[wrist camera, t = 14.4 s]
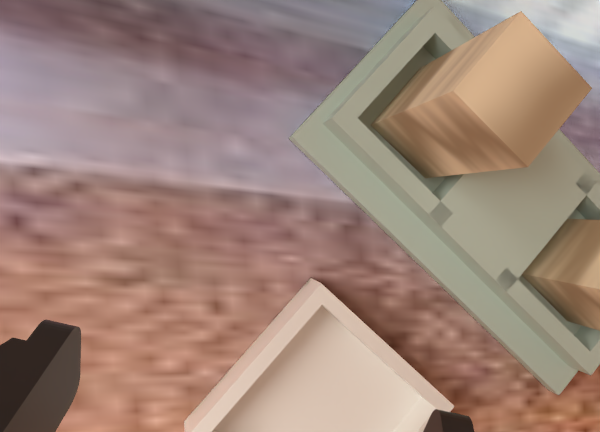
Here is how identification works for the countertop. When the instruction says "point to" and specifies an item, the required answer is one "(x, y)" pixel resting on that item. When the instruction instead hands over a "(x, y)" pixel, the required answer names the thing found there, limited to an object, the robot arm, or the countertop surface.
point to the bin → (318, 378)
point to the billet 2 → (571, 272)
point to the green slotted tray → (460, 201)
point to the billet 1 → (484, 103)
